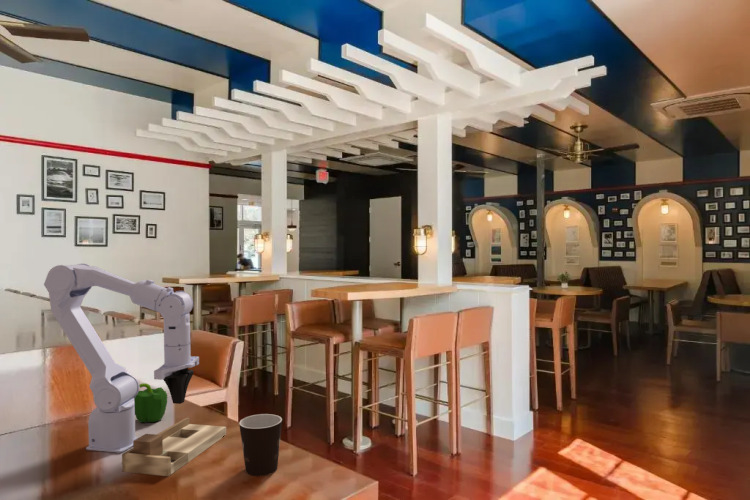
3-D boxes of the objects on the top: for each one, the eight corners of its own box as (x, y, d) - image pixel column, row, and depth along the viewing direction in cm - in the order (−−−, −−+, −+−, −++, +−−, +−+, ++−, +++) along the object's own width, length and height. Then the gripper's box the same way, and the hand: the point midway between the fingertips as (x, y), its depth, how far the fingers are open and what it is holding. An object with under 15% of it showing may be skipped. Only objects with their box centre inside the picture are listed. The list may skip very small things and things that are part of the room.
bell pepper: (172, 414, 143) (171, 378, 143) (161, 424, 134) (160, 386, 134) (141, 415, 142) (140, 379, 142) (128, 426, 134) (127, 387, 134)
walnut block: (133, 459, 108) (133, 440, 108) (146, 452, 112) (146, 433, 112) (150, 461, 107) (150, 442, 107) (162, 453, 111) (162, 435, 111)
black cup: (273, 480, 102) (272, 429, 102) (232, 476, 104) (231, 427, 104) (294, 456, 113) (293, 410, 113) (257, 453, 115) (256, 408, 115)
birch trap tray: (122, 471, 107) (121, 454, 107) (186, 431, 129) (186, 417, 129) (168, 476, 104) (168, 458, 104) (226, 434, 127) (226, 420, 127)
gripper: (173, 351, 112) (174, 413, 112) (209, 338, 126) (210, 394, 127) (145, 350, 114) (146, 411, 114) (184, 338, 128) (185, 393, 128)
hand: (178, 402), depth 120 cm, fingers closed
